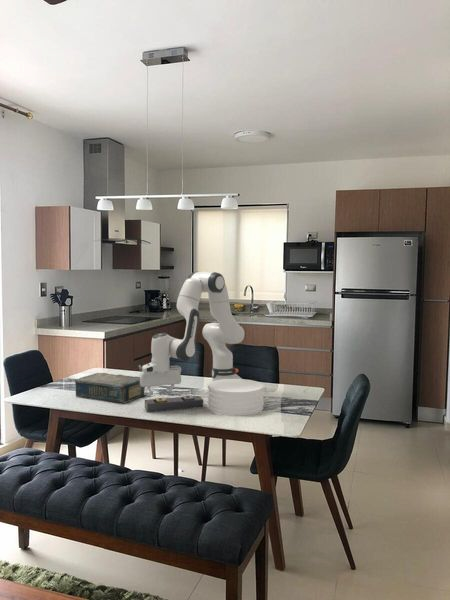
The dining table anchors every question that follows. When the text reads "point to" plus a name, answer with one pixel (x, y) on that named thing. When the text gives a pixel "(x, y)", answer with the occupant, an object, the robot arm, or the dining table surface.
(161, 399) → the wooden cube with knob
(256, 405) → the plate stack
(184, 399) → the grey knobbed square block
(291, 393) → the dining table surface
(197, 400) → the rail
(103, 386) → the metal box
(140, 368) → the mechanical component
